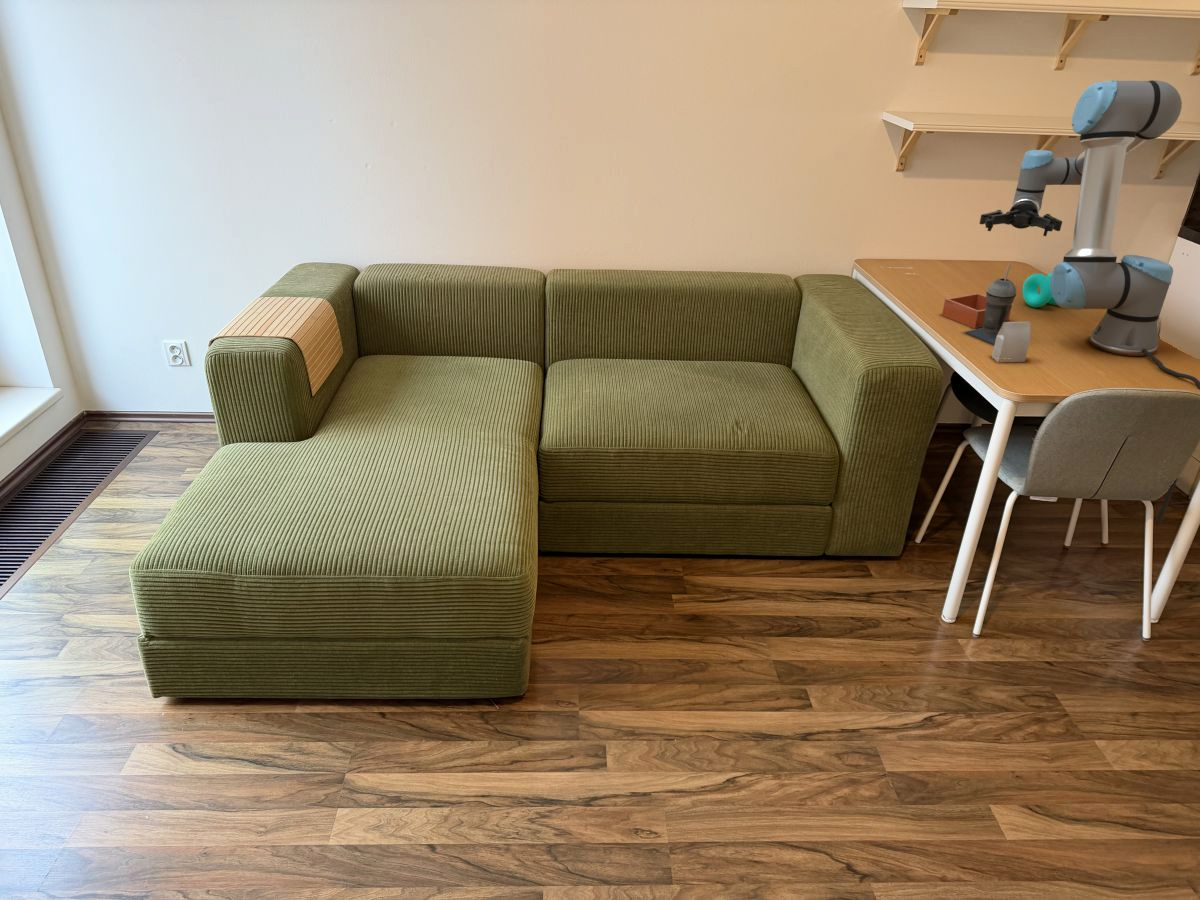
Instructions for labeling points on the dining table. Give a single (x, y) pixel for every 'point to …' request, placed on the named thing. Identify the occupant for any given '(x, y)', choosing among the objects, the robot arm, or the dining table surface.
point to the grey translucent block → (1012, 342)
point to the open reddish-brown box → (967, 309)
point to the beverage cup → (998, 305)
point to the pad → (981, 336)
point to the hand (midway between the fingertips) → (1017, 228)
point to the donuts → (1032, 293)
